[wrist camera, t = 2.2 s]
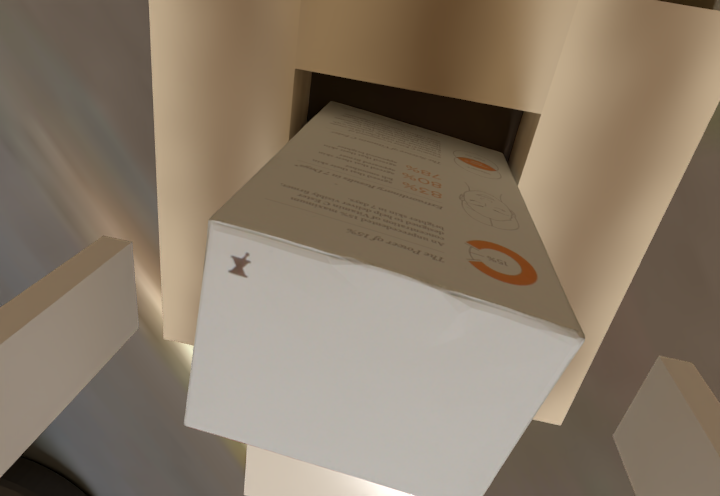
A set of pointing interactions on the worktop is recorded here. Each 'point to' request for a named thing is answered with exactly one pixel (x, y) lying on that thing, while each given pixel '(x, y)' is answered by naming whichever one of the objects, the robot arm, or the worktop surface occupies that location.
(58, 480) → the robot arm
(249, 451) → the ceramic tile
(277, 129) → the pocket block
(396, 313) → the small box
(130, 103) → the worktop surface
